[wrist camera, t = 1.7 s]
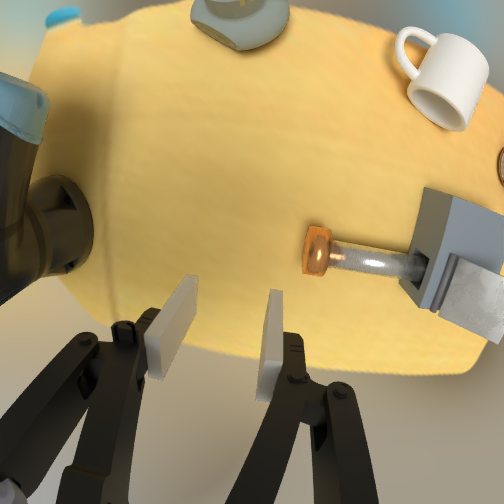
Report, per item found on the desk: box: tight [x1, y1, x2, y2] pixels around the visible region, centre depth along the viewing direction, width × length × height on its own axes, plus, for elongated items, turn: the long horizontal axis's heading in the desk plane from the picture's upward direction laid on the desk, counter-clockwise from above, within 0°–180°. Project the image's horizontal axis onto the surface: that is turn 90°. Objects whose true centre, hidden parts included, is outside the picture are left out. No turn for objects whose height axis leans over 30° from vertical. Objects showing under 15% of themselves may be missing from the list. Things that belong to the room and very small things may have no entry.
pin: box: [302, 226, 430, 282], centre depth 29 cm, size 16×5×5 cm, turn 82°
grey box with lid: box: [399, 187, 504, 313], centre depth 28 cm, size 12×13×8 cm
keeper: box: [438, 257, 504, 344], centre depth 22 cm, size 9×7×1 cm
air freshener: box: [190, 0, 290, 51], centre depth 20 cm, size 11×8×10 cm
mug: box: [394, 27, 489, 132], centre depth 21 cm, size 12×10×8 cm
